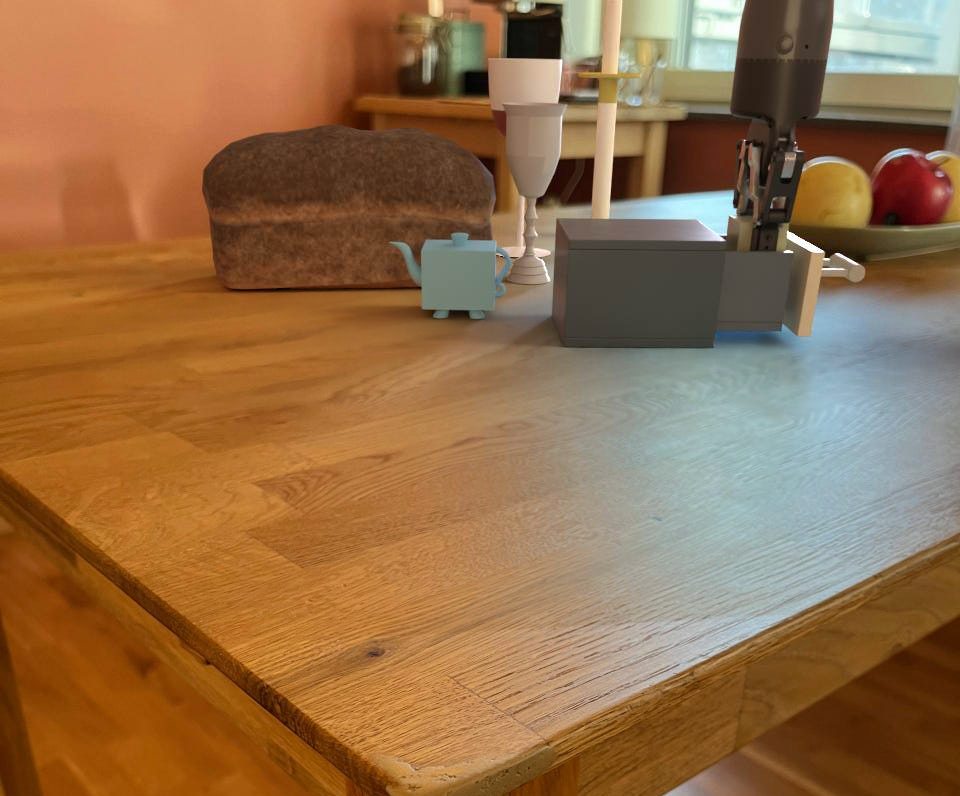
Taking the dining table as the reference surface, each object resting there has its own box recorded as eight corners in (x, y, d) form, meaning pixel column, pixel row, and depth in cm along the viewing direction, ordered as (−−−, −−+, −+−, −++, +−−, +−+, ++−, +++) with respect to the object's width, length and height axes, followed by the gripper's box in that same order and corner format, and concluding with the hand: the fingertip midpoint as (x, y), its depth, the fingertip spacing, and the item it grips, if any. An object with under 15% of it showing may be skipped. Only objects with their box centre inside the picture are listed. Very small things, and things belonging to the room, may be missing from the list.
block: (768, 265, 96) (776, 215, 94) (781, 274, 92) (789, 222, 90) (722, 265, 96) (728, 215, 94) (733, 274, 92) (740, 222, 90)
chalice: (485, 278, 118) (488, 103, 109) (528, 271, 122) (534, 101, 113) (528, 288, 113) (534, 106, 104) (571, 281, 117) (581, 105, 108)
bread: (501, 289, 112) (505, 130, 104) (206, 294, 109) (187, 128, 101) (483, 265, 125) (485, 120, 117) (218, 268, 121) (201, 119, 113)
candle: (555, 232, 148) (570, -82, 129) (621, 231, 150) (645, -80, 131) (573, 243, 139) (591, -91, 121) (643, 242, 141) (672, -88, 122)
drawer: (824, 309, 102) (838, 231, 98) (864, 337, 92) (881, 252, 88) (651, 307, 101) (659, 230, 98) (673, 336, 92) (682, 250, 88)
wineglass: (563, 249, 135) (573, 59, 124) (536, 261, 128) (544, 59, 117) (503, 244, 138) (507, 58, 127) (473, 255, 131) (475, 58, 120)
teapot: (388, 318, 100) (385, 237, 96) (394, 304, 105) (391, 227, 101) (509, 320, 100) (511, 239, 96) (509, 306, 105) (511, 229, 101)
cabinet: (686, 316, 103) (696, 219, 98) (713, 348, 92) (727, 241, 87) (551, 314, 102) (556, 218, 98) (563, 347, 91) (569, 239, 87)
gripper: (854, 55, 80) (816, 282, 88) (800, 54, 92) (771, 253, 100) (760, 54, 79) (730, 282, 88) (718, 53, 92) (696, 253, 100)
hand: (752, 266), depth 94 cm, fingers closed on block, 4 cm apart
